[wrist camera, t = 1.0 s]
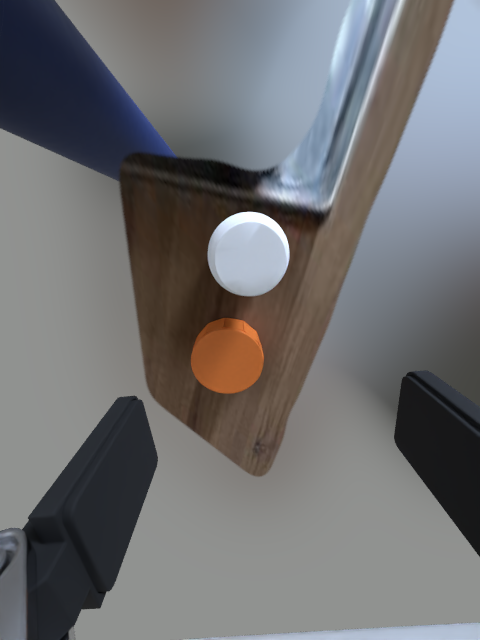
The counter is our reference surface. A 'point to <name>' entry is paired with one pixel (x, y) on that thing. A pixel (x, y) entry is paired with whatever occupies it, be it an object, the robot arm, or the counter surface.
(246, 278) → the pill bottle
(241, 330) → the cap
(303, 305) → the counter surface
